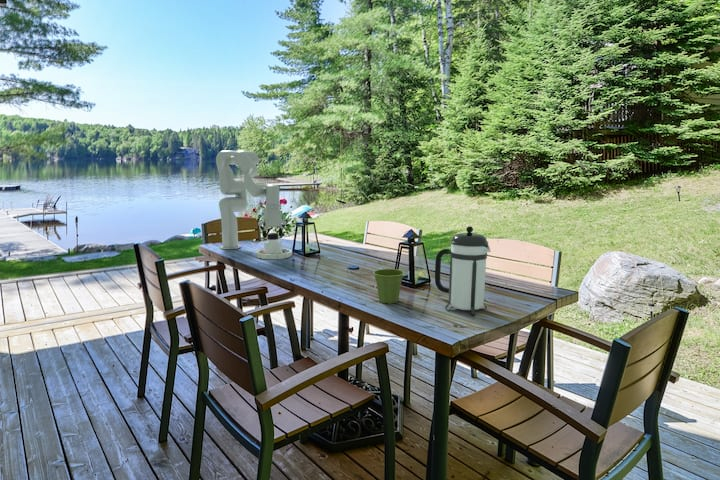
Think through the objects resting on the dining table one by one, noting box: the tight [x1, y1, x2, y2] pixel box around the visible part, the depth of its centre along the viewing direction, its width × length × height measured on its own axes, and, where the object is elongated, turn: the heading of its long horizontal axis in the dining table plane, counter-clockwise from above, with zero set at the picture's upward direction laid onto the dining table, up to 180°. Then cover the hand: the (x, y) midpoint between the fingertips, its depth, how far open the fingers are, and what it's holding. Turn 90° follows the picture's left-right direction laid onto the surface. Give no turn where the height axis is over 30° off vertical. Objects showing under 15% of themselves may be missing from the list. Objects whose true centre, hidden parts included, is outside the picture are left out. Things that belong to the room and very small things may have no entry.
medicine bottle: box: [263, 232, 283, 254], centre depth 247 cm, size 7×7×12 cm
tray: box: [255, 247, 293, 260], centre depth 248 cm, size 20×20×3 cm
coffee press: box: [434, 225, 491, 317], centre depth 153 cm, size 17×16×30 cm
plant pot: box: [372, 268, 406, 304], centre depth 163 cm, size 12×12×11 cm
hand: (272, 236), depth 247 cm, fingers open, 9 cm apart
